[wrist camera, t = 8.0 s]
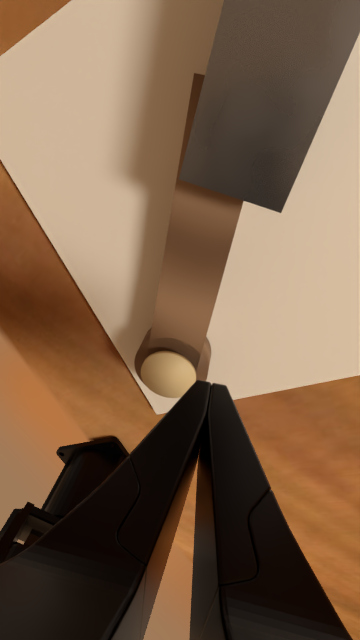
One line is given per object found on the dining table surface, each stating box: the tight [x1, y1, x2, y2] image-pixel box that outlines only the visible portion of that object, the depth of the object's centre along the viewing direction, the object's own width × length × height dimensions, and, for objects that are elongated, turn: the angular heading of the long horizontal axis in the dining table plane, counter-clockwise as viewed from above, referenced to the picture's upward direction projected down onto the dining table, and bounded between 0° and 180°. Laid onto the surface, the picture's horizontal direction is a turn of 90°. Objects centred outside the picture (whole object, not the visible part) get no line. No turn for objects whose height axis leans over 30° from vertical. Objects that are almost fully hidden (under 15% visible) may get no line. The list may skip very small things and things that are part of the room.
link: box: [134, 73, 243, 383], centre depth 17 cm, size 16×4×2 cm, turn 169°
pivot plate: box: [0, 0, 360, 415], centre depth 16 cm, size 20×22×3 cm
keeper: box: [179, 0, 360, 213], centre depth 12 cm, size 8×4×4 cm, turn 165°
